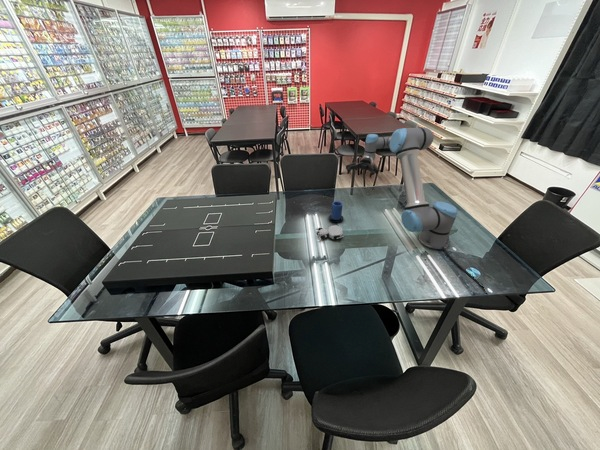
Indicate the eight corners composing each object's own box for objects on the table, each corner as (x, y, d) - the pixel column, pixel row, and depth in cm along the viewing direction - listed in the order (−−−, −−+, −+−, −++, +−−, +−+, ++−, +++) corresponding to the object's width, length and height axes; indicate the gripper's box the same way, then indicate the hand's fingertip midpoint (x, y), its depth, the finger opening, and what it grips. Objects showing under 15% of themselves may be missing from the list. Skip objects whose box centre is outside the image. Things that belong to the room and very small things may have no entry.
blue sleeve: (341, 220, 155) (342, 206, 149) (331, 219, 155) (332, 205, 149) (340, 215, 160) (342, 201, 154) (331, 214, 160) (332, 200, 155)
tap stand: (343, 224, 154) (344, 210, 149) (328, 223, 155) (329, 209, 150) (342, 216, 162) (344, 203, 156) (329, 215, 162) (329, 202, 157)
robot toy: (318, 244, 139) (344, 241, 139) (317, 238, 136) (344, 235, 136) (315, 231, 149) (340, 229, 149) (315, 225, 146) (340, 222, 147)
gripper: (384, 170, 163) (379, 182, 147) (347, 165, 172) (338, 176, 156) (386, 159, 159) (381, 170, 143) (348, 154, 168) (339, 164, 152)
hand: (359, 173), depth 149 cm, fingers open, 13 cm apart
